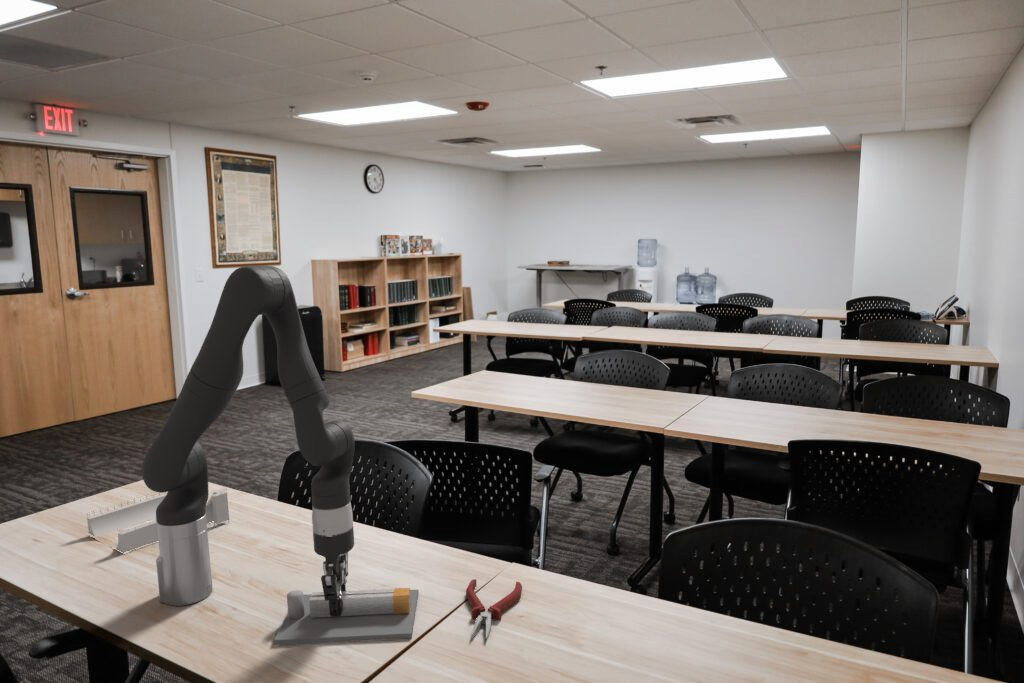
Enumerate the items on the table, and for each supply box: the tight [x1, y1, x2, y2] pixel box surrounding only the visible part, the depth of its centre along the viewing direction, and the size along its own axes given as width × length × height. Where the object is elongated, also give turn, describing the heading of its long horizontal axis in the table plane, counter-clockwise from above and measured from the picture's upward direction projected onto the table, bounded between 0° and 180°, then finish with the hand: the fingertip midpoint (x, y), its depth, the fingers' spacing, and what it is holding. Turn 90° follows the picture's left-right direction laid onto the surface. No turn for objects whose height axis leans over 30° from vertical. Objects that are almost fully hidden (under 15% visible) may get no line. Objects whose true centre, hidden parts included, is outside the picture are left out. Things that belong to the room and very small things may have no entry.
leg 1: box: [311, 587, 411, 607], centre depth 132 cm, size 19×1×4 cm, turn 93°
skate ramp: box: [86, 487, 230, 553], centre depth 174 cm, size 25×23×10 cm
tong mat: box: [273, 589, 419, 646], centre depth 131 cm, size 25×16×6 cm, turn 93°
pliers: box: [465, 578, 523, 641], centre depth 132 cm, size 12×20×3 cm, turn 172°
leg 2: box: [309, 591, 410, 618], centre depth 131 cm, size 19×1×4 cm, turn 94°
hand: (338, 608), depth 131 cm, fingers open, 4 cm apart
